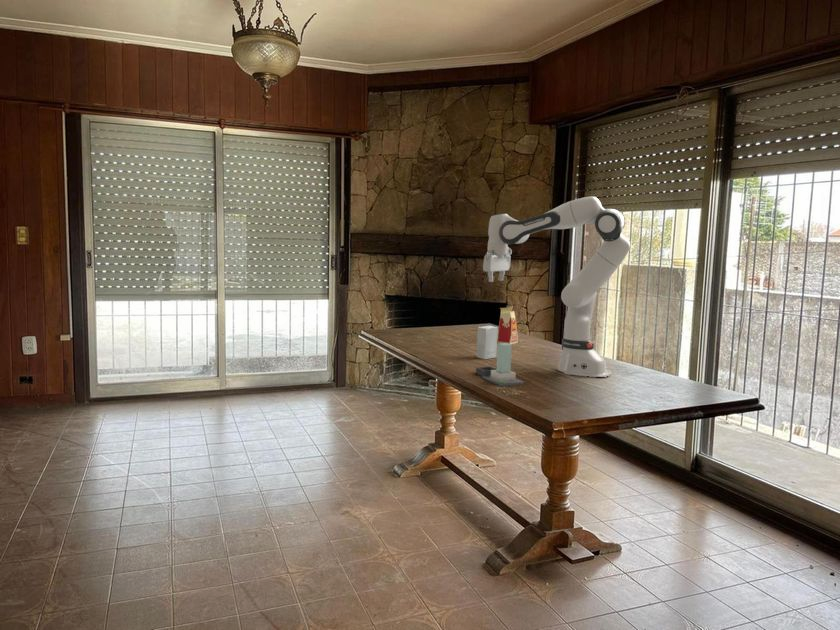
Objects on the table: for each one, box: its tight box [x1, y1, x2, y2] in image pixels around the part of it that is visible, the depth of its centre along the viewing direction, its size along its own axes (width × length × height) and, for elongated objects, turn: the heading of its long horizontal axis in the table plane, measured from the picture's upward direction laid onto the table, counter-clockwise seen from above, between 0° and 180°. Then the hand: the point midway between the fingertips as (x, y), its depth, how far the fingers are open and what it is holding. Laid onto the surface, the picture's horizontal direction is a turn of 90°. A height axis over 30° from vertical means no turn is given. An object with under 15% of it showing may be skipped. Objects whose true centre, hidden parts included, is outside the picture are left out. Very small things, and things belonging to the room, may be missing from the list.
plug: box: [496, 343, 513, 373], centre depth 253 cm, size 4×4×14 cm
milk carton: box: [497, 305, 519, 345], centre depth 342 cm, size 9×9×20 cm
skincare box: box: [476, 324, 499, 360], centre depth 299 cm, size 8×6×15 cm
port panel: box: [481, 370, 525, 387], centre depth 254 cm, size 14×11×4 cm
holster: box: [475, 366, 497, 377], centre depth 264 cm, size 7×7×2 cm
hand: (495, 281), depth 285 cm, fingers open, 8 cm apart
